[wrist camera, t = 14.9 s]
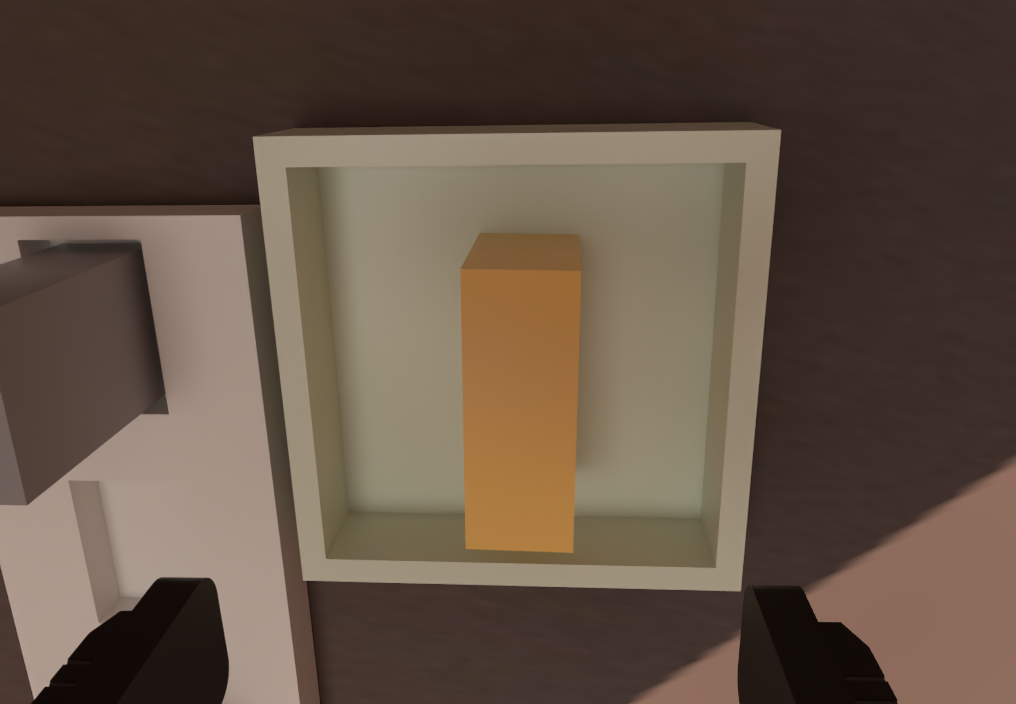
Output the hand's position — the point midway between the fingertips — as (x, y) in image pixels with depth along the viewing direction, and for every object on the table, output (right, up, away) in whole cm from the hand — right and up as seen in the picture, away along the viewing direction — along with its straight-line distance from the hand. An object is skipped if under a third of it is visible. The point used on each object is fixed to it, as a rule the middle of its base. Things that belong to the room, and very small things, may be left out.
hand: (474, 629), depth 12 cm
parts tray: (+1, +4, +14) cm, 15 cm away
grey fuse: (-12, +5, +14) cm, 19 cm away
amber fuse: (+1, -1, +13) cm, 13 cm away
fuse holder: (-12, -2, +17) cm, 21 cm away
